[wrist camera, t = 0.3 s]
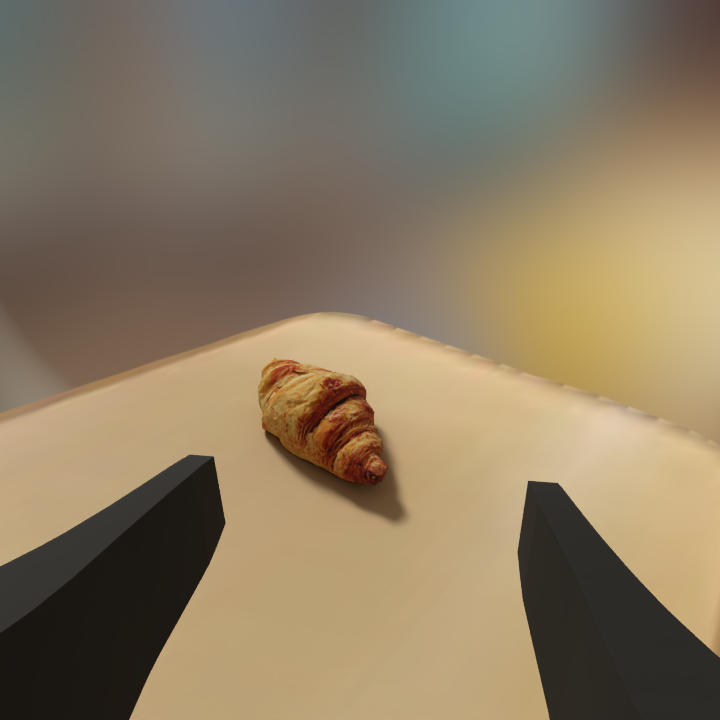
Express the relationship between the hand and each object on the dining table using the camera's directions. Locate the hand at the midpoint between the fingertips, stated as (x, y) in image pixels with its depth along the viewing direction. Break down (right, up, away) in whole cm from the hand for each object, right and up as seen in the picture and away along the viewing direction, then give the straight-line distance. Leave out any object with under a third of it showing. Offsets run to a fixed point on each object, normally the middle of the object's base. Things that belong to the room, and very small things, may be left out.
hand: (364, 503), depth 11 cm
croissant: (-4, -4, +36) cm, 37 cm away
